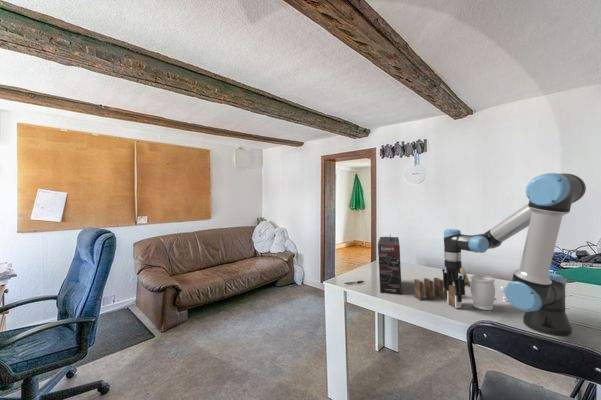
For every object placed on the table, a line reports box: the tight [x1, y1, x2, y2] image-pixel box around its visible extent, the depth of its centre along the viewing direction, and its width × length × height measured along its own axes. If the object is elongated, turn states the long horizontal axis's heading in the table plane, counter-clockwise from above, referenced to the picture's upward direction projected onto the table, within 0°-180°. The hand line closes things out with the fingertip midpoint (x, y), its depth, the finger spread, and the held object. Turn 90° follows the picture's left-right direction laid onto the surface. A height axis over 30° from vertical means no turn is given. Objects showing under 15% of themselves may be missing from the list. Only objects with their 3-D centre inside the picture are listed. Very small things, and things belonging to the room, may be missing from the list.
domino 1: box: [413, 278, 424, 302], centre depth 148 cm, size 2×5×10 cm, turn 9°
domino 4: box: [443, 283, 454, 297], centre depth 151 cm, size 2×5×10 cm, turn 9°
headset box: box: [377, 233, 402, 295], centre depth 168 cm, size 24×13×33 cm, turn 161°
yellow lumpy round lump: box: [453, 267, 470, 284], centre depth 171 cm, size 10×12×11 cm
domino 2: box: [423, 278, 434, 300], centre depth 149 cm, size 2×5×10 cm, turn 9°
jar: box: [469, 274, 496, 311], centre depth 135 cm, size 11×10×15 cm
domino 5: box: [448, 284, 459, 308], centre depth 137 cm, size 2×5×10 cm, turn 9°
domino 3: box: [433, 277, 444, 300], centre depth 150 cm, size 2×5×10 cm, turn 9°
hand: (454, 305), depth 137 cm, fingers closed on domino 5, 5 cm apart
